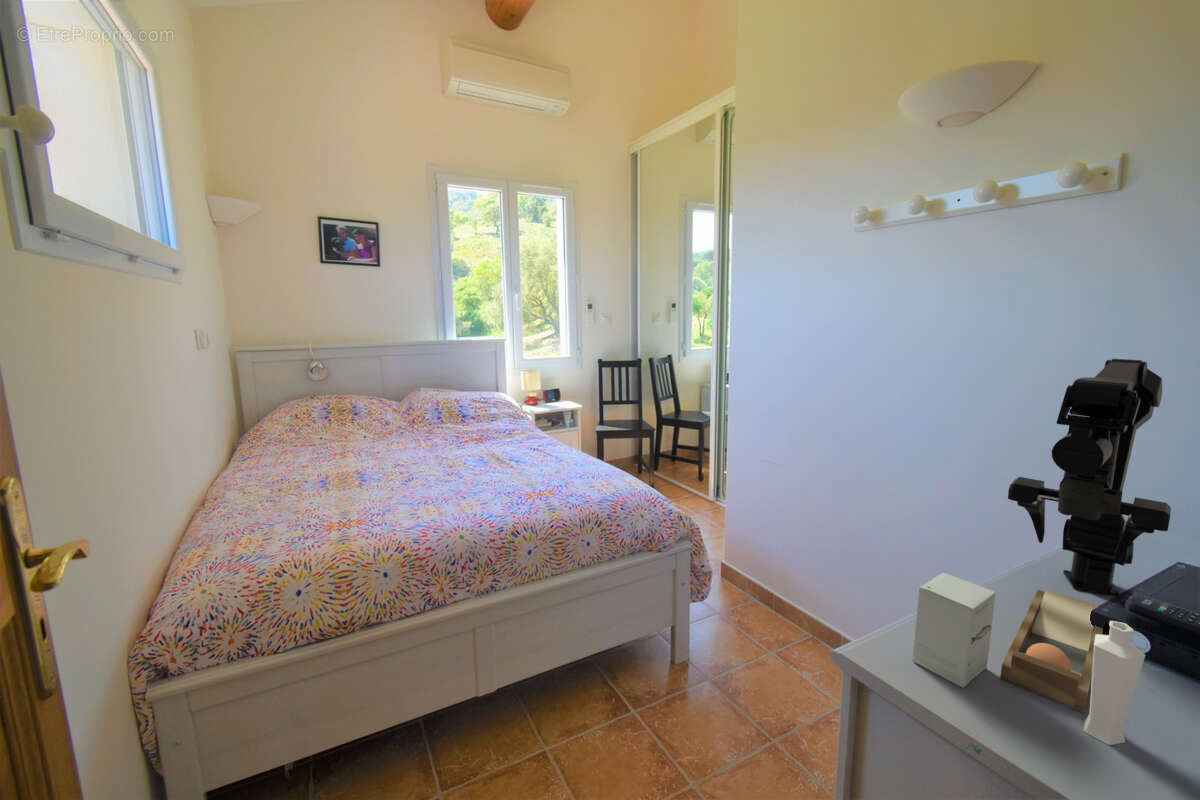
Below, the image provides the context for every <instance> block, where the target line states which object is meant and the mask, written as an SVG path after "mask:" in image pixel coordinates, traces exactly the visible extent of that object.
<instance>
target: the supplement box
mask: <svg viewBox="0 0 1200 800" xmlns="http://www.w3.org/2000/svg"><path fill="white" fill-rule="evenodd" d="M995 601H996V592H995V591H993V590H991V589H988V588H986V587H983V586H980V585H978V584H975V583H973V582H971V581H968V580H964V579H962V578H959V577H958V576H957V577H956V576H954V575H950V574H949V573H946V572H941V573H940V574H938V575H937V576H935V577H934V578H932V579H930V580H929V581H927V582H926V583H924V584H922V585H921V586H919V587H918V597H917V608H916V618H915V619H916V620H915V627H914V630H915V631H914V640H913V648H912V650H913V651H912V662H914V663H915V664H918V665H919V666H921V667H923V668H925V669H926V670H929V671H930V672H932V673H934V674H935V675H938V676H940V677H941V678H943V679H945V680H947V681H949V682H950V683H952V684H954V685H956V686H958V687H960V688H963V689H964V688H965V687H967V686H968V684H969V683H970V682H971V681H972V680H973V679H975V677H977V676H978V675H979V674H980V673H982V672H983V671H984V670H986V669H987V667H988V660H989V659H988V658H989V652H990V651H989V650H990V643H991V637H992V636H991V635H992V630H993V629H992V628H993V627H992V626H993V618H994V611H995V604H996V603H995Z"/></svg>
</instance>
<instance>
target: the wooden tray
mask: <svg viewBox="0 0 1200 800" xmlns="http://www.w3.org/2000/svg"><path fill="white" fill-rule="evenodd" d="M1097 607H1099V608H1100V606H1099V605H1098V604H1095V603H1092V602H1090V601H1084V600H1082V599H1078V598H1074V597H1072V596H1068V595H1065V594H1060V593H1057V592H1054V591H1051V590H1047V589H1044V590H1041V589H1037V591H1036V593H1035V595H1034V597H1033V599H1032V601H1031V604H1030V605H1029V608H1028V610H1027V612H1026V614H1025V616H1024V617H1023V620H1022V622H1021V624H1020V626H1019V629H1018V630H1017V632H1016V635H1015V637H1014V639H1013V640H1012V643H1011V645H1010V647H1009V649H1008V651H1007V652H1006V653H1007V654H1006V655H1005V657H1004V659H1003V662H1002V664H1001V670H1000V678H999V680H1001V681H1004V682H1006V683H1009V684H1011V685H1014V686H1016V687H1019V688H1021V689H1023V690H1026V691H1028V692H1031V693H1034V694H1036V695H1038V696H1041V697H1043V698H1044V699H1047V700H1050V701H1053V702H1056V703H1058V704H1060V705H1063V706H1065V707H1068V708H1070V709H1072V710H1075V711H1077V712H1080V713H1082V714H1085V711H1086V707H1087V703H1088V699H1089V694H1090V692H1091V682H1092V667H1093V652H1094V641H1095V635H1096V634H1099V635H1104V634H1103V629H1102V628H1100V627H1097V626H1096V625H1095V627H1094V626H1093V625H1092V624H1091V621H1090V614H1091V611H1092V610H1093V609H1095V608H1097ZM1093 630H1094V631H1093ZM1037 643H1047V644H1051V645H1053V646H1055V647H1057V648H1059V649H1060V650H1062V651H1063V652H1064V653H1065V654H1066V656H1067V657H1068V658H1069V660H1070V663H1071V671H1069V670H1066V669H1064V668H1061V667H1058V666H1056V665H1053V664H1050V663H1048V662H1045V661H1042V660H1039V659H1037V658H1034V657H1031V656H1029V655H1026V651H1027V650H1028V648H1029V647H1030V646H1032V645H1034V644H1037Z"/></svg>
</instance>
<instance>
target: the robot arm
mask: <svg viewBox="0 0 1200 800" xmlns="http://www.w3.org/2000/svg"><path fill="white" fill-rule="evenodd" d="M1162 397H1163V378H1162V377H1161V376H1160V375H1158V374H1157V373H1155V372H1153V371H1151V369H1149V368H1148V361H1143V360H1141V359H1125V358H1123V359H1122V358H1112V359H1106V361H1105V364H1104V368H1102V370H1100V371H1099V372H1098V373H1097V374H1096V375H1095V377H1079V378H1077V379H1075V380H1074V381H1073V383H1072V384H1071V385H1070V384H1069V385H1068V386H1067V387H1066V390H1065V393H1064V395H1063V399H1062V403H1061V406H1060V410H1059V412H1058V416H1057V419H1056V425H1061V426H1067V427H1068V431H1067V434H1066V435H1065V436H1063V437H1062V438H1061V439H1059V440H1057V442H1056V443H1055V444H1054V445H1053V446H1052V448H1051V458H1052V460H1053V462H1054V464H1055V465H1056V466H1057V467H1058V468H1059V469H1060V470H1062V471H1063V478H1062V480H1061V481H1060V483H1059V488H1058V489H1054V488H1049V487H1045V481H1044V480H1041V479H1040V480H1039V479H1034V478H1028V477H1023V476H1018V477H1017V478H1015V479H1014V480H1013V481H1012V482H1011V483H1010V485H1009V488H1008V492H1007V499H1008V500H1010V501H1013V502H1016V504H1017V506H1018V507H1022V508H1024V509H1025V510H1026V511H1027V513H1028V515H1029V516H1030V518H1031V521H1032V524H1033V527H1034V530H1035V534H1036V537H1037V541H1038V543H1039V544H1043V542H1044V538H1045V531H1046V530H1045V529H1046V527H1045V525H1046V518H1045V517H1046V516H1045V515H1046V514H1045V513H1046V500H1047V501H1052V502H1056V503H1058V505H1057V511H1058V512H1059V514H1061V515H1064V516H1070V518H1067V519H1066V521H1065V522H1064V526H1063V531H1062V533H1063V534H1062V550H1063V551H1069V552H1072V553H1073V556H1072V560H1071V561H1072V563H1071V568H1070V569H1071V570H1063V572H1062V573H1063V575H1064V576H1065V578H1066V579H1067V581H1068V583H1070V586H1071V587H1072V588H1073V589H1075V590H1079V591H1086V592H1087V591H1088V592H1093V593H1097V594H1098V593H1099V594H1103V595H1104V594H1106V595H1111V596H1118V595H1121V592H1120V591H1119V590H1118V588H1117V587H1116V586H1115V585H1114V583H1113V582H1114V576H1115V570H1116V564H1117V565H1119V566H1123V567H1124V566H1125V565H1132V563H1133V558H1134V553H1135V551H1134V550H1135V549H1134V548H1135V547H1134V541H1135V540H1136V539H1137V538H1138V537H1139V536H1141V535H1142V534H1145V533H1146V534H1154V533H1155V530H1156V531H1160V532H1168V530H1169V526H1170V519H1171V515H1172V514H1171V513H1172V507H1171V506H1170V505H1169V503H1167V502H1164V501H1159V500H1158V501H1157V500H1153V499H1145V498H1140V497H1134V500H1133V503H1131V502H1124V501H1122V500H1123V499H1122V498H1123V490H1124V487H1125V481H1126V478H1127V477H1126V476H1127V472H1128V468H1129V463H1130V459H1131V456H1132V455H1131V454H1132V450H1133V445H1134V442H1135V437H1136V433H1137V430H1138V429H1140V427H1142V426H1144V424H1145V423H1147V422H1148V421H1150V420H1151V419H1152V417H1153V413H1154V409H1155V408H1159V407H1160V405H1161V401H1162ZM1124 516H1128V518H1127V519H1125V517H1124Z"/></svg>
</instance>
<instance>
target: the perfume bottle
mask: <svg viewBox="0 0 1200 800" xmlns="http://www.w3.org/2000/svg"><path fill="white" fill-rule="evenodd" d="M1108 625H1109V632H1108V633H1109V634H1107V635H1106V634H1103V635H1099V634H1096V635H1095V641H1094V652H1093V667H1092V682H1091V687H1090V699H1089V700H1090V702H1089V714H1088V716H1087V717H1086V719H1085V720H1084V726H1083V732H1085V733H1086V734H1088V735H1090V736H1092V737H1094V739H1097V740H1099V741H1100V742H1102V743H1104V744H1105V745H1108V746H1112V745H1113V746H1114V745H1119V744H1124V743H1126V739H1125V734H1124V730H1123V729H1124V727H1125V723H1126V720H1127V716H1128V714H1129V710H1130V706H1131V703H1132V700H1133V697H1134V694H1135V691H1136V688H1137V683H1138V681H1139V677H1140V674H1141V671H1142V668H1143V664H1144V661H1145V658H1146V654H1145V653H1143V652H1142V651H1141V650H1140V649H1138V647H1136V646H1135V645H1133V644H1132V643H1131V637H1132V632H1134V628H1132V627H1131V626H1129V624H1127V623H1126V622H1120V621H1115V620H1109V623H1108Z"/></svg>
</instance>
